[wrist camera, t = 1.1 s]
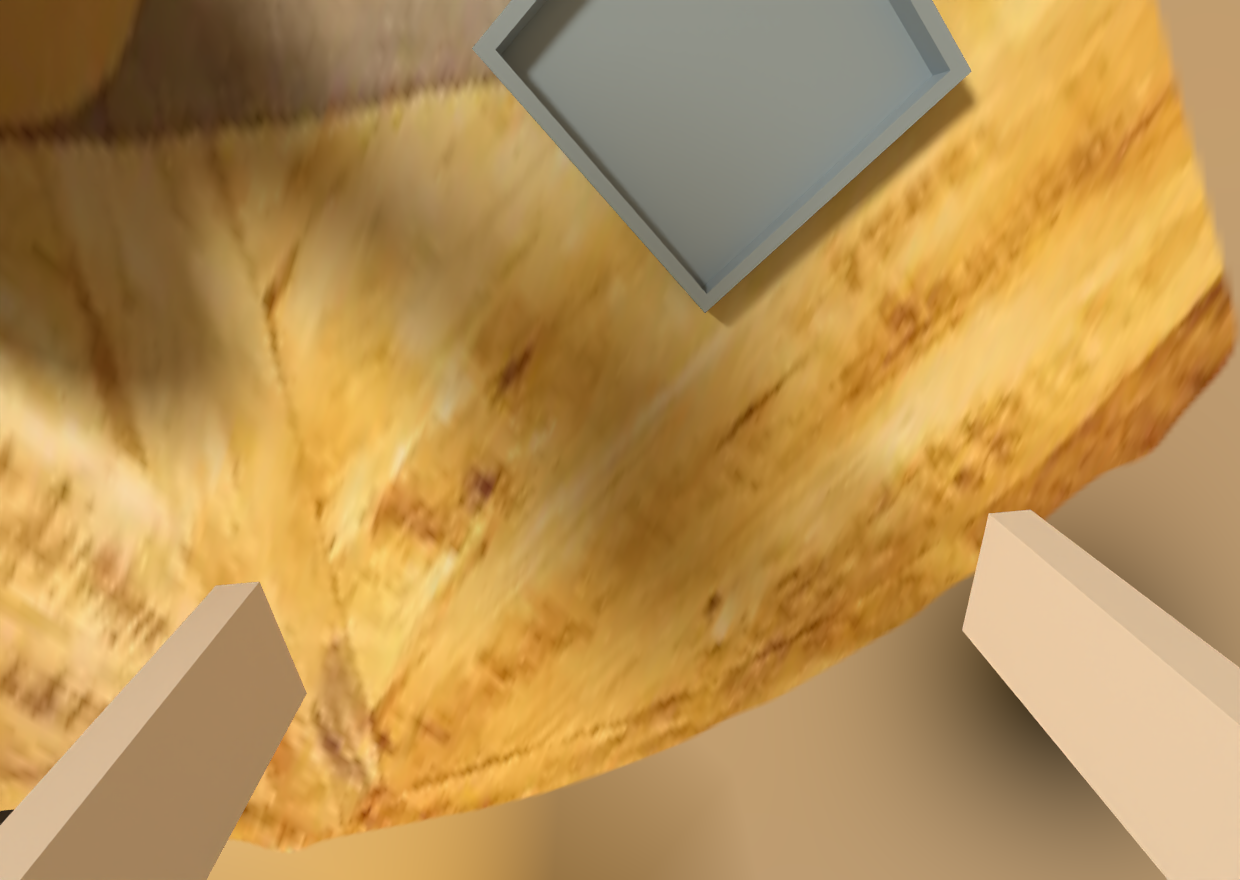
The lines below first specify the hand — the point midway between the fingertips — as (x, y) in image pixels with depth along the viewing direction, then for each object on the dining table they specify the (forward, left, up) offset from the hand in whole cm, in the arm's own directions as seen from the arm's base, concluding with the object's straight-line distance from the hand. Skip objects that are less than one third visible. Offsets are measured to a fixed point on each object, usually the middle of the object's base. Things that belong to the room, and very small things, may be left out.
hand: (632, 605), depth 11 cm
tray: (-5, +13, -28) cm, 31 cm away
